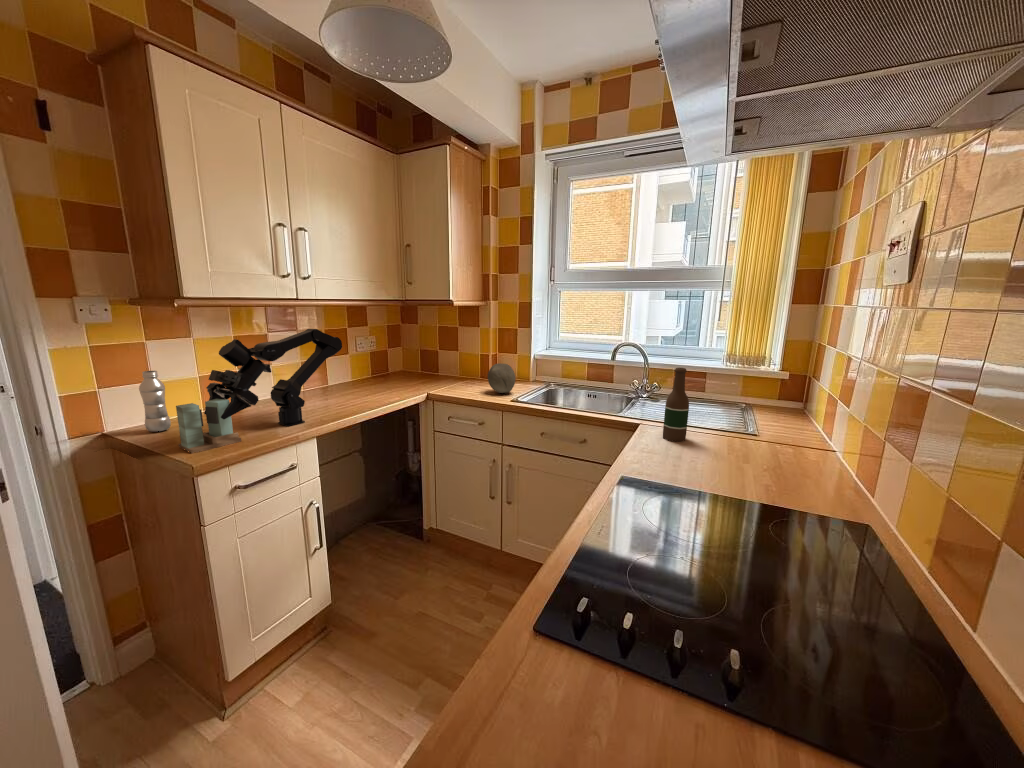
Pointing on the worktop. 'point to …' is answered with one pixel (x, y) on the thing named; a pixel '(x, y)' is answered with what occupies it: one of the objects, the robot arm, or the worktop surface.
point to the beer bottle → (676, 410)
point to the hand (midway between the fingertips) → (213, 416)
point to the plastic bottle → (154, 402)
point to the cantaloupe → (501, 378)
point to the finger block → (218, 417)
